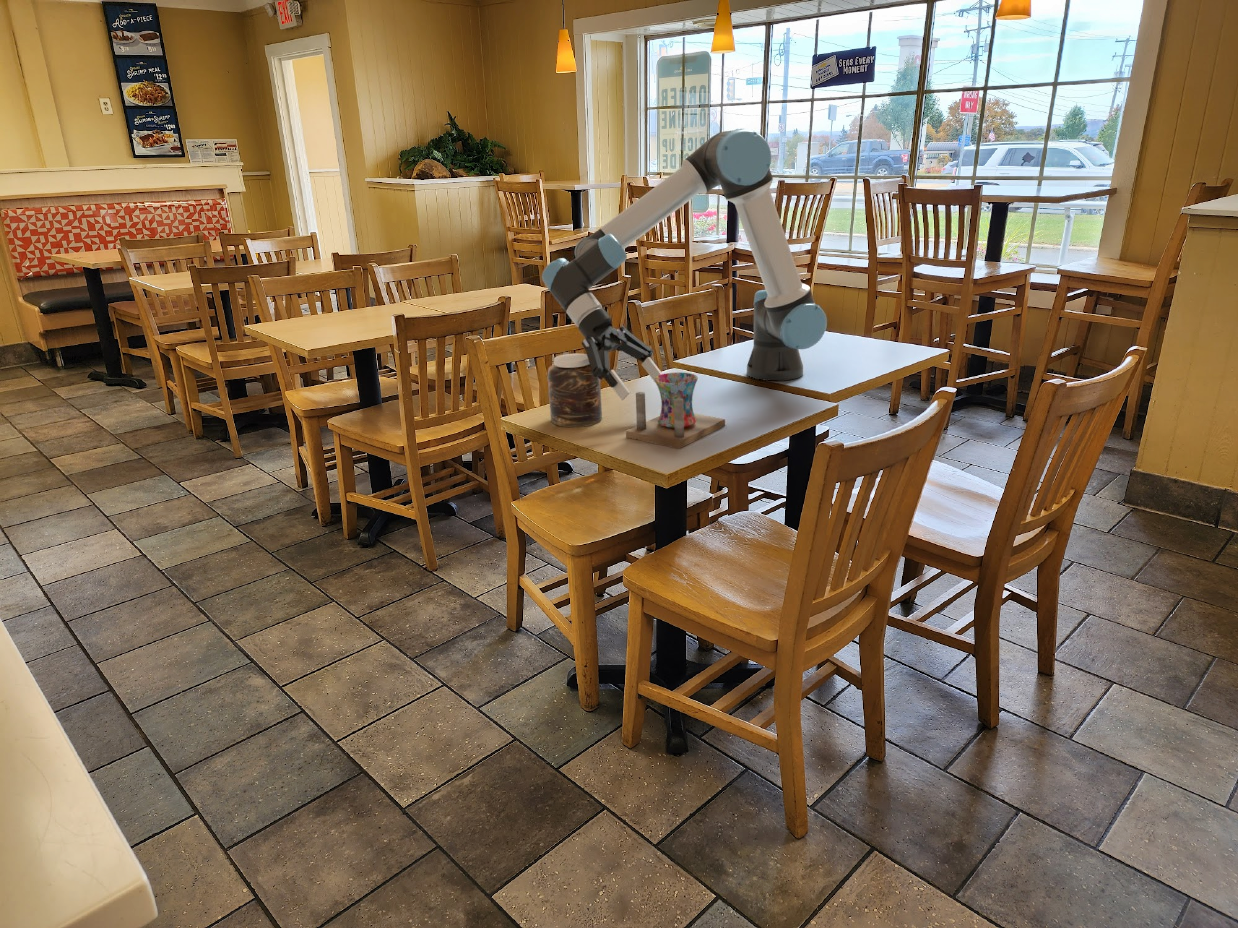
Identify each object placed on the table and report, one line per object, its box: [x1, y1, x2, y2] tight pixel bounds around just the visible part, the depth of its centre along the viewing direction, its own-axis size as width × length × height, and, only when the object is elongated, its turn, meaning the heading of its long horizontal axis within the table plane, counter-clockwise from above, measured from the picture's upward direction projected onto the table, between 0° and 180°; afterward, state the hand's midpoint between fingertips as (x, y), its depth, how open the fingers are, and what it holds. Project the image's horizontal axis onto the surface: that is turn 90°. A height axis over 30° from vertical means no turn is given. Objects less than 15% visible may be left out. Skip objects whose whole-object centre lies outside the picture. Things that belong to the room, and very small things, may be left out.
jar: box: [547, 353, 603, 428], centre depth 187 cm, size 12×12×15 cm
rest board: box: [625, 391, 726, 449], centre depth 177 cm, size 18×14×10 cm
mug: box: [654, 371, 698, 428], centre depth 178 cm, size 12×9×11 cm
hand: (644, 389), depth 183 cm, fingers open, 13 cm apart
